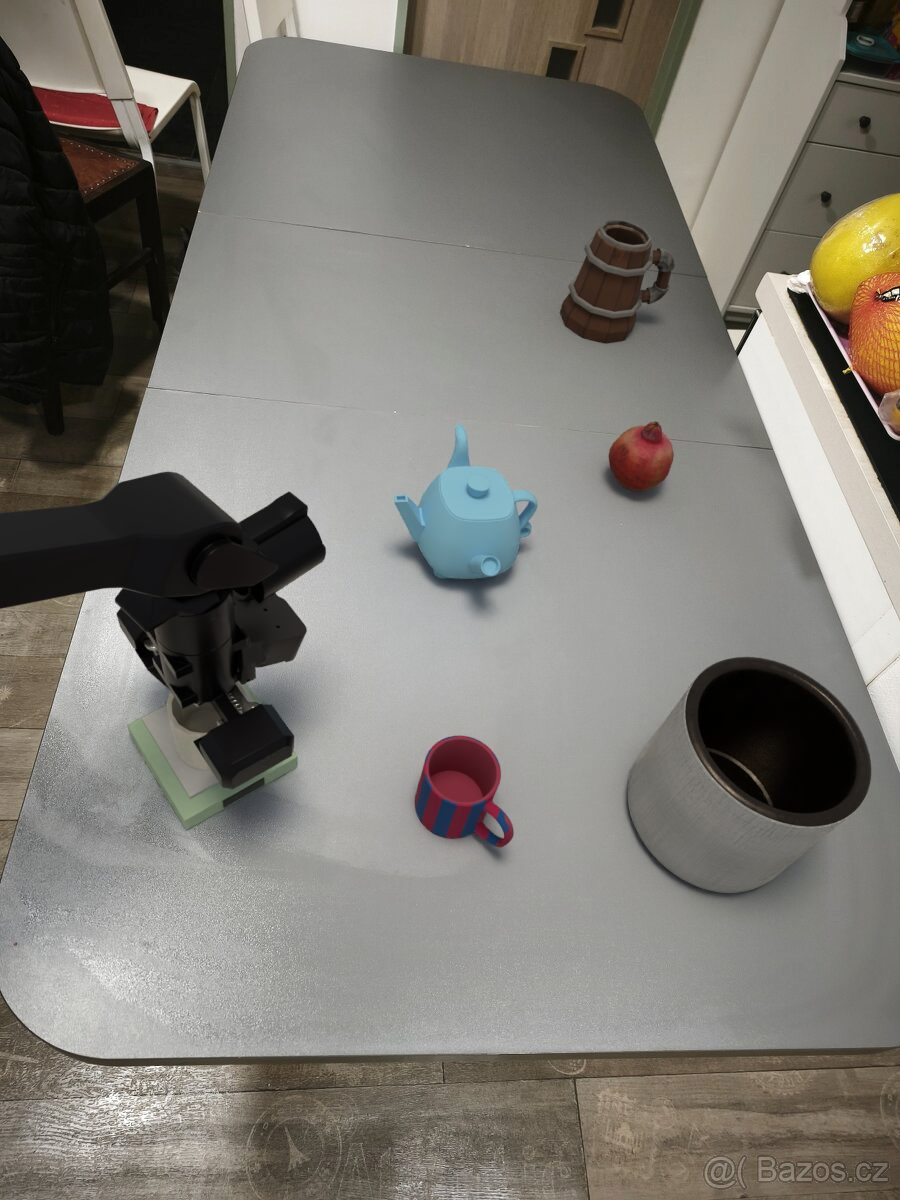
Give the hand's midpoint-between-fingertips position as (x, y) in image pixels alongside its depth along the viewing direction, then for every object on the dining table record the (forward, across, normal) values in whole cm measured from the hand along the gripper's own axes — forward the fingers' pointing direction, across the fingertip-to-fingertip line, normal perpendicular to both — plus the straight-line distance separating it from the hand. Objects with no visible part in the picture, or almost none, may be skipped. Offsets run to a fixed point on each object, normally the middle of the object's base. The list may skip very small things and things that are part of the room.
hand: (210, 730), depth 72 cm
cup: (+4, -18, -15) cm, 24 cm away
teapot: (+4, +8, -35) cm, 36 cm away
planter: (+4, -31, -35) cm, 47 cm away
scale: (+4, 0, 0) cm, 4 cm away
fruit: (+4, +6, -63) cm, 64 cm away
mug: (+4, +35, -88) cm, 95 cm away
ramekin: (+2, 0, 0) cm, 2 cm away
